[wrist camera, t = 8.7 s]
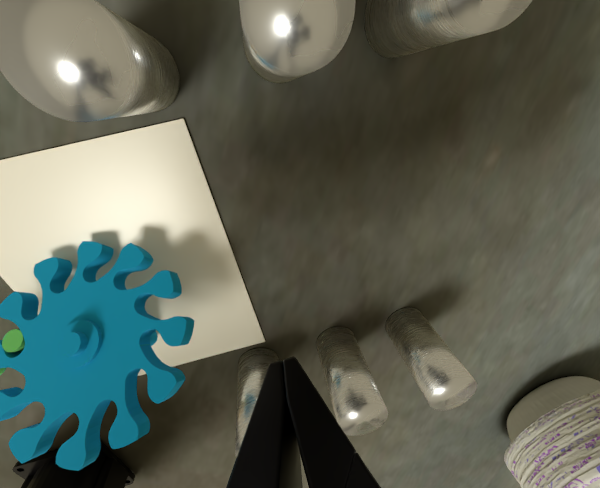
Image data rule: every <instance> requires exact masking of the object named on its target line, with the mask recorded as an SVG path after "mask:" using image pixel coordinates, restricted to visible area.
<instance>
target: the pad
mask: <svg viewBox="0 0 600 488" xmlns="http://www.w3.org/2000/svg"><path fill="white" fill-rule="evenodd" d="M83 241H92V242H97V243H100V244H103V245H106V246H109V247H111V248H113V249H114V253H113V256H112V258H111V260H110V261H109V262H108V263H106V264H105V265H104V266H102V267H101V268H100V269H99V270H98V271H97V273H96V281H97V280H98V279H100V278H101V277H103V276H104V275H105V274H106V273H108V272H109V271H110V270H111V268H112V267H113V266H114V264H115V263H116V261H117V259H118V257H119V255H120V252H121V250H122V249H123V247H124V246H126V245H127V244H129V243H132V244H134V245H137V246H139V247H141V248H143V249H144V250H146V251H147V252H148V253H149V254H150V255H151V256H152V258H153V259H154V261H153V263H152V265H151V266H150V267H149V268H148V269H146V270H144V271H138V272H133V273H131V274H129V275H128V276H127V278H126V280H125V287H126V289H132V288H136V287H139V286H141V285H143V284H145V283H147V282H148V281H149V280H150V279H152V277H153V276H154V275H155V274H156V273H158V272H160V271H162V270H169V271H172V272H175V273H177V274H178V277H179V279H180V283H181V287H182V294H181V295H180V296H178V297H177V298H174V299H167V298H160V297H157V296H155V295H152V296H150V297H149V298H148V299H147V301H146V303H145V310H146V312H147V313H148V314H149V315H151V316H153V317H155V318H158V319H161V320H165V319H169V318H172V317H175V316H183V317H190V318H192V319H193V320H194V329H193V334H192V337H191V340H190V341H189V343H188V344H187V345H181V346H169V345H167V344H166V343H165V342H164V340H163V339H162V337H161V335H160V333H159V332H158V331H157V330H156V333H157V336H158V338H157V341H156V343H155V344H154V345H152V346H151V347H152V349H153V351H154V353H155V354H156V356H157V357H158V358H159V359H160V360H161V361H162V362H163V363H164V364H166V365H168V366H170V367H173V366H177V365H181V364H184V363H188V362H192V361H195V360H199V359H203V358H206V357H210V356H214V355H218V354H221V353H225V352H229V351H232V350H236V349H240V348H243V347H247V346H251V345H255V344H258V343H262V342H265V339H264V336H263V334H262V331H261V328H260V325H259V323H258V320H257V317H256V314H255V312H254V309H253V306H252V304H251V301H250V298H249V295H248V293H247V290H246V287H245V284H244V282H243V279H242V276H241V274H240V271H239V268H238V265H237V263H236V260H235V257H234V254H233V252H232V249H231V246H230V243H229V241H228V238H227V235H226V233H225V230H224V227H223V224H222V222H221V219H220V216H219V213H218V211H217V208H216V205H215V203H214V200H213V197H212V194H211V192H210V189H209V186H208V183H207V181H206V178H205V175H204V172H203V170H202V167H201V164H200V162H199V159H198V156H197V153H196V151H195V148H194V145H193V142H192V140H191V137H190V134H189V132H188V129H187V126H186V123H185V121H184V118H183V119H179V120H174V121H170V122H166V123H161V124H157V125H152V126H148V127H144V128H139V129H135V130H130V131H126V132H122V133H117V134H113V135H108V136H104V137H100V138H95V139H91V140H87V141H82V142H78V143H73V144H69V145H65V146H60V147H56V148H51V149H47V150H43V151H38V152H34V153H29V154H25V155H21V156H16V157H12V158H8V159H3V160H0V276H1V277H2V278H3V279H4V280H5V282H6V283H7V284H8V285H9V286H10V287H11V288H12V290H13V291H14V292H25V293H33V294H35V295H36V296H37V297H38V300H39V305H38V314H39V313H40V311H41V306H42V288H41V285H40V283H39V281H38V279H37V278H36V277H35V275H34V266H35V264H37V263H39V262H41V261H43V260H45V259H48V258H52V257H57V258H61V259H65V260H69V261H70V262H71V263H72V272H71V274H70V276H69V278H68V279H67V281H66V283H65V285H64V290H66V288H67V287H68V285H69V284H70V282H71V280H72V279H73V277H74V275H75V272H76V269H77V264H78V255H77V250H78V247H79V245H80V244H81V243H82V242H83ZM144 374H146V372H145V371H144V370H143V369H141V370H140V371H139V373H138V376H140V375H144Z"/></svg>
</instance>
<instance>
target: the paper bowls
mask: <svg viewBox="0 0 600 488" xmlns="http://www.w3.org/2000/svg"><path fill="white" fill-rule="evenodd" d="M507 431H508V435H509V438H510V441H511V443H510V445H509V447H508V448H507V450H506V452H505V456H504V457H505V459H504V460H505V463H506V465H507V467H508V468H509V470H510V471H511V472H512V475H513V476H514V477H515V478H516V480H517V481H518V482H519V484H520V486H521V488H600V381H597V380H595V379H592V378H589V377H584V376H570V377H565V378H560V379H556V380H554V381H551V382H548V383H546V384H544V385H542V386H540V387H538V388H536V389H535V390H533V391H531V392H530V393H529V394H527V395H526V396H524V397H523V398H522V399H521V400H520V401H519V402H518V403H517V404H516V405H515V406H514V407H513V409H512V410H511V412H510V414H509V416H508V419H507Z"/></svg>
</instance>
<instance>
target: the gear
mask: <svg viewBox="0 0 600 488" xmlns="http://www.w3.org/2000/svg"><path fill="white" fill-rule="evenodd" d="M113 253H114V249H113V248H111V247H109V246H106V245H103V244H100V243H97V242H92V241H83V242H82V243H81V244H80V245H79V247H78V250H77V255H78V264H77V269H76V272H75V275H74V277H73V279H72V280H71V282H70V284H69V285H68V287H67V288H66V290H64V285H65V283H66V281H67V279H68V278H69V276H70V274H71V272H72V263H71V262H70V261H69V260H65V259H61V258H57V257H52V258H48V259H45V260H43V261H41V262H39V263H37V264H35V266H34V275H35V277H36V278H37V279H38V281H39V283H40V285H41V288H42V306H41V311H40V313H39V314H38V305H39V300H38V297H37V296H36V295H35V294H33V293H25V292H13V293H12V294H10V295H9V296H8V297H7V298H6V299H5V300H4V301H3V302H2V303H1V304H0V317H1V318H4V319H8V320H11V321H13V322H14V323H15V324H16V325H17V326H18V327H19V328H20V329H14V330H11V331H9V332H8V333H7V334H6V335H5V336H4V338H3V340H0V375H1V374H2V373H3V372H4V371H5V369H6V367H10V368H13V369H15V370H17V371H19V372H20V373H22V374H23V375H24V376H25V379H26V384H25V387H24V389H23V390H22V389H21V388H18V387H14V388H9V389H4V390H0V421H2V420H6V419H9V418H12V417H15V416H16V415H18V414H19V413H20V412H21V411H22V410H23V409H24V408H25V407H26V406H27V405H29V404H30V403H32V402H34V401H39V402H41V403H42V404H43V405H44V407H45V416H44V419H43V421H42V422H41V423H38V424H35V425H33V426H30V427H27V428H24V429H21V430H19V431H17V432H16V433H15V434H14V435H13V436H12V438H11V439H10V441H9V447H10V449H11V451H12V453H13V455H14V456H15V457H16V458H17V459H18V460H19V461H20V462H21V463H25V462H27V461H29V460H31V459H33V458H35V457H38V456H40V455H42V454H44V453H45V452H47V451H48V450H49V449H50V447H51V445H52V444H53V441H54V438H55V435H56V433H57V431H58V430H59V428H60V427H61V425H62V424H63V422H64V421H65V420H66V419H67V418H68V417H69V416H70V415H72V414H73V413H75V414H76V415H77V416H78V418H79V427H78V430H77V432H76V433H75V435H74V436H72V437H71V438H70V439H68V440H67V441H66V442H65V443H63V444H62V446H61V447H60V448H59V450H58V452H57V455H56V464H57V465H58V466H59V467H61V468H64V469H68V470H77V471H79V470H81V469H82V468H84V467H86V466H87V465H89V464H91V463H92V462H94V461H95V460H96V459H97V457H98V455H99V453H100V449H101V443H100V428H101V423H102V419H103V416H104V414H105V412H106V410H107V408H108V406H109V404H110V402H111V401H114V402H115V404H116V406H117V416H116V419H115V420H114V422H113V424H112V426H111V428H110V431H109V436H108V440H109V444H110V446H111V448H112V449H118V448H122V447H125V446H127V445H129V444H131V443H132V442H134V441H136V440H138V439H139V438H141V437H142V436H144V435H146V434H147V433H149V430H150V421H149V419H148V417H147V415H146V414H145V413H144V412H143V410H142V408H141V407H140V404H139V401H138V397H137V376H138V373H139V371H140V370H141V369H143V370H144V371H145V372H146V374H147V377H148V386H147V390H148V395H149V397H150V399H151V400H152V401H153V402H155V403H157V404H159V403H161V402H163V401H165V400H167V399H169V398H170V397H172V396H173V395H174V394H175V393H176V392H177V391H178V390H179V388H180V387H181V386H182V384H183V382H184V381H185V375H184V374H183V372H182V371H181V370H179V369H177V368H173V367H170V366H168V365H166V364H164V363H163V362H162V361H161V360H160V359H159V358H158V357H157V356H156V354H155V353H154V351H153V349H152V347H151V346H152V345H154V344H155V343H156V341H157V338H158V336H157V333H156V330H157V331H158V332H159V333H160V335H161V337H162V339H163V340H164V342H165V343H166V344H167V345H169V346H181V345H187V344H188V343H189V341H190V340H191V337H192V334H193V329H194V320H193V319H192V318H190V317H183V316H175V317H172V318H169V319H165V320H161V319H158V318H155V317H153V316H151V315H149V314H148V313H147V312H146V310H145V303H146V301H147V299H148V298H149V297H150V296H152V295H155V296H157V297H160V298H167V299H174V298H177V297H178V296H180V295H181V294H182V287H181V283H180V279H179V277H178V274H177V273H175V272H172V271H169V270H162V271H160V272H158V273H156V274H155V275H154V276H153V277H152V279H150V280H149V281H148V282H147V283H145V284H143V285H141V286H139V287H136V288H132V289H126V287H125V280H126V278H127V276H128V275H129V274H131V273H133V272H138V271H144V270H146V269H148V268H149V267H150V266H151V265H152V263H153V261H154V259H153V258H152V256H151V255H150V254H149V253H148V252H147V251H146V250H144V249H143V248H141V247H139V246H137V245H134V244H132V243H129V244H127V245H126V246H124V247H123V249H122V250H121V252H120V255H119V257H118V259H117V261H116V263H115V264H114V266H113V267H112V268H111V270H110V271H109V272H108V273H106V274H105V275H104V276H103V277H101V278H100V279H98V280H97V281H96V273H97V271H98V270H99V269H100V268H101V267H102V266H104V265H105V264H106V263H108V262H109V261H110V260H111V258H112V256H113Z"/></svg>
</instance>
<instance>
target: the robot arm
mask: <svg viewBox="0 0 600 488" xmlns="http://www.w3.org/2000/svg"><path fill="white" fill-rule="evenodd" d="M100 443H101V449H100V453H99V455H98V457H97V459H96V460H95V461H94V462H92V463H91V464H89V465H87V466H86V467H84V468H82V469H81V470H79V471H77V470H68V469H64V468H61V467H59V466H58V465H57V464H56V455H57V452H58V450H57V451H53V452H50V453H46V454H43V455H40V456H38V457H35V458H33V459H31V460H29V461H27V462H25V463H21V462H20V461H18V462H17V463H16V465H15V466H14V468H13V471H14V472H15V473H16V474H18V475H19V476H21V477H22V478H24V479H25V481H24V483H23V485H22V487H21V488H124V487H125V486H126V485H130V484H132V483H133V482H134V478H135V475H134V474H133V473H132V472H131V471H130V470H129V469H128V468H127V467H126V466H125V465H124V464H123V463H122V462H121V461H120V460H119V459H118V458H117V457H116V456H115V455H114V454H113V453H112V452H111V451H110V450H109V449H108V448H107V447H106V446H105V445H104V444H103V443H102V442H100ZM300 455H301V458H302V462H303V466H304V470H305V474H306V478H307V481H308V485H309V488H381V487H380V486H379V484H378V483H377V481H376V480H375V478H374V477H373V476H372V474H371V473H370V471H369V470H368V468H367V467H366V465H365V464H364V462H363V461H362V459H361V458H360V456H359V454H358V453H356V450H355V449H354V447H353V445H352V444H351V442H350V441H349V439H348V438H347V436H346V435H345V433H344V432H343V430H342V428H341V427H340V425H339V424H338V422H337V421H336V419H335V418H334V416H333V415H332V413H331V411H330V410H329V408H328V407H327V405H326V404H325V402H324V401H323V399H322V398H321V396H320V394H319V393H318V391H317V390H316V388H315V387H314V385H313V384H312V382H311V381H310V379H309V377H308V376H307V374H306V373H305V371H304V370H303V368H302V367H301V365H300V364H299V362H298V360H297V359H296V358H295V357H291V358H287V359H284V360H283V361H281V360H280V361H276V362H272V363H270V364H269V366H268V369H267V372H266V375H265V378H264V380H263V383H262V386H261V389H260V392H259V395H258V398H257V401H256V404H255V406H254V409H253V412H252V415H251V418H250V421H249V424H248V427H247V429H246V432H245V435H244V438H243V441H242V444H241V447H240V450H239V452H238V455H237V458H236V461H235V464H234V467H233V470H232V473H231V476H230V478H229V481H228V484H227V487H226V488H302V475H301V461H300Z"/></svg>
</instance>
